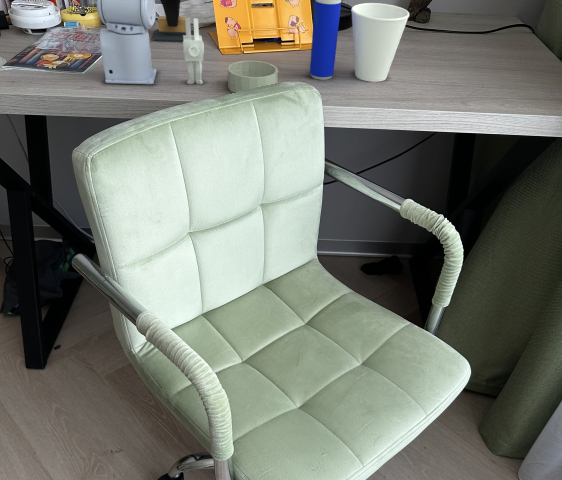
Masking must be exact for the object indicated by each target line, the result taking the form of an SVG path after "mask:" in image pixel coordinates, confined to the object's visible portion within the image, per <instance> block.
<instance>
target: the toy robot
mask: <svg viewBox="0 0 562 480" xmlns="http://www.w3.org/2000/svg"><path fill="white" fill-rule="evenodd" d="M192 19H193V20H192V21H193V22H192V23H193V24H192V25H193V31H194V35H191V31H192V30H191V29H192V28H191V18H190V17H189V18H185V23H186V35H183V42H182V50H183V51H182V52H183V56H184V62H186V72H187V79H188V80H187V81H186V83H187V84H189V85H192V84H195V83H196V84H197V85H202V84H204V80H202V79H203V78H202V77H203V76H202V75H203V74H202V73H203V65H202V62H204V54H205V46H204V45H205V44H204V41H203V37H202V35H201V34H200V29H199V18H198V17H197V18H196V17H195V18H194V17H193V18H192Z"/></svg>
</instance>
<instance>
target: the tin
mask: <svg viewBox="0 0 562 480" xmlns="http://www.w3.org/2000/svg"><path fill="white" fill-rule="evenodd" d="M278 78H279V68H278V67H277V66H276V65H274V64H272V63H270V62H266V61H263V60H238V61H235V62H232V63H230V64H229V65H228V66H227V88H228V90H229V91H231V93H234V92H238V91H242V90H246V89H252V88H256V87H261V86H266V85H271V84H275V83H277V84H278V83H279V82H278V81H279V80H278Z"/></svg>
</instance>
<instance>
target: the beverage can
mask: <svg viewBox="0 0 562 480" xmlns="http://www.w3.org/2000/svg"><path fill="white" fill-rule="evenodd" d="M341 5H342V0H314V8H313V10H314V11H313V23H312V36H311V49H310V61H309V74H310V77H312V78H313V79H316V80H319V81H327V80H330V79H331V78H332V77H333V76H334V75H335V74H334V73H335V65H336V53H337V44H338V34H339V27H340V25H339V24H340V16H341V8H342V7H341Z"/></svg>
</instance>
